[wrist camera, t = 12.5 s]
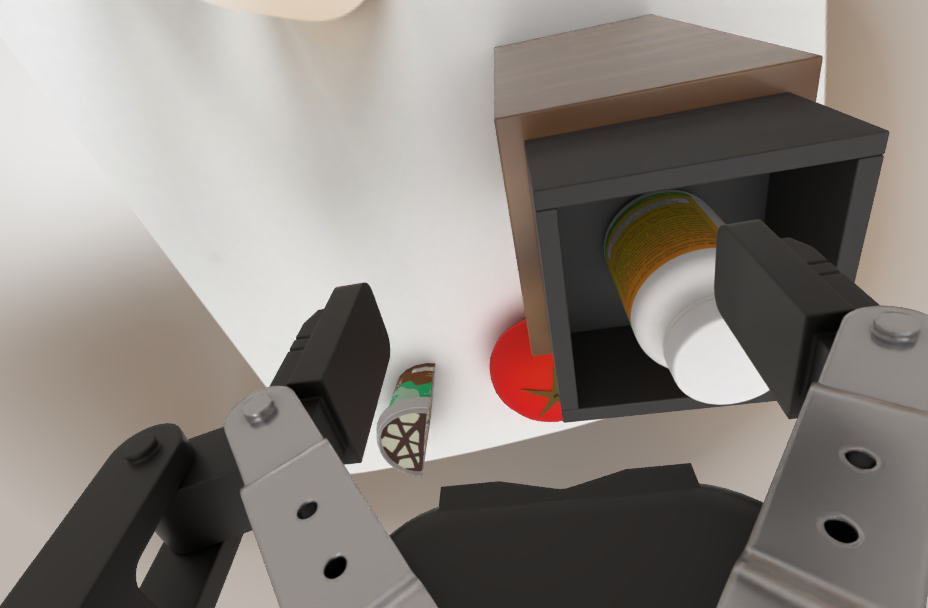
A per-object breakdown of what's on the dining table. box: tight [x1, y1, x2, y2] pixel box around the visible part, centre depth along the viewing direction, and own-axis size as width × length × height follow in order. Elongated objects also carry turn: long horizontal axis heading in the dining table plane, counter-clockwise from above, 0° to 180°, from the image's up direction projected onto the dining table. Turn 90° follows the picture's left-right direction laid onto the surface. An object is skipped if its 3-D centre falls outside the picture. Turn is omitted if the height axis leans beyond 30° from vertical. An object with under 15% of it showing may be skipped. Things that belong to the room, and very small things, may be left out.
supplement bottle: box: [604, 190, 769, 405], centre depth 21 cm, size 5×5×10 cm
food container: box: [377, 363, 435, 477], centre depth 66 cm, size 12×6×10 cm, turn 175°
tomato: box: [490, 319, 563, 422], centre depth 60 cm, size 14×13×10 cm
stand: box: [494, 14, 822, 356], centre depth 38 cm, size 14×14×28 cm
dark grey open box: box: [524, 92, 889, 422], centre depth 23 cm, size 12×12×7 cm
